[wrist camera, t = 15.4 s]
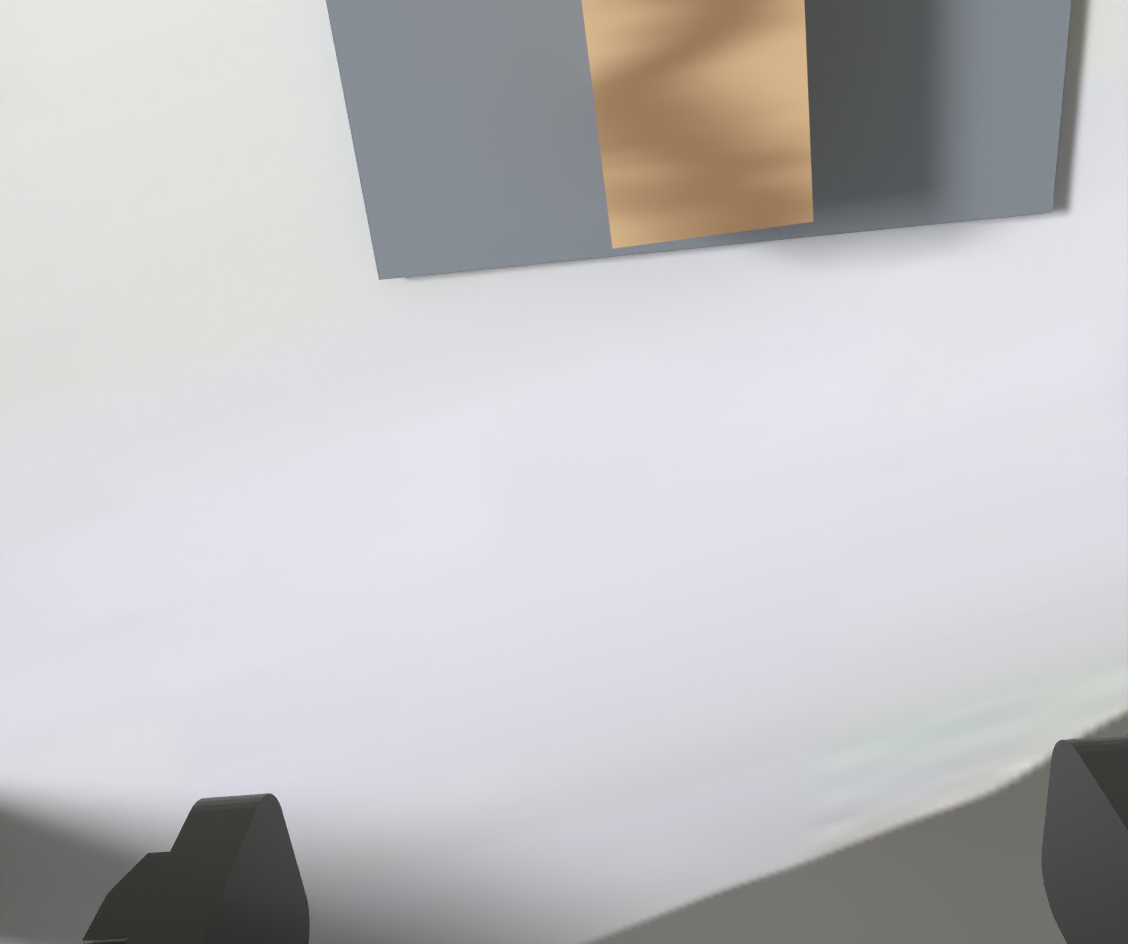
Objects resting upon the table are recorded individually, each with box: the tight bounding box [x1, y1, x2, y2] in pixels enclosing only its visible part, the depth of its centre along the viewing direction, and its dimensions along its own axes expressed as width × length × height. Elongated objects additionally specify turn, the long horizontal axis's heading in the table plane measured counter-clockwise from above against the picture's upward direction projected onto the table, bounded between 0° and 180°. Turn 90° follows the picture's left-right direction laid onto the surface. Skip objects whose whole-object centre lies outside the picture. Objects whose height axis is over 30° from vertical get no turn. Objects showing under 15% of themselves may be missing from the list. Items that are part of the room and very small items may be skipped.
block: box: [581, 0, 813, 249], centre depth 26 cm, size 5×5×10 cm
